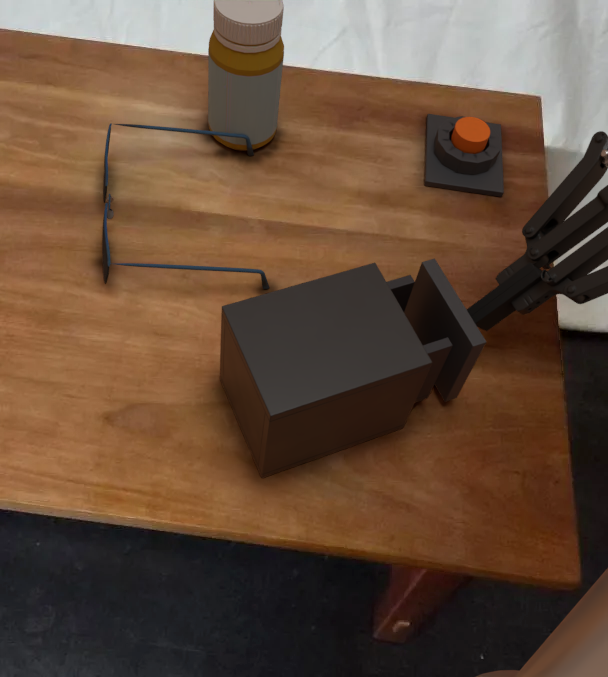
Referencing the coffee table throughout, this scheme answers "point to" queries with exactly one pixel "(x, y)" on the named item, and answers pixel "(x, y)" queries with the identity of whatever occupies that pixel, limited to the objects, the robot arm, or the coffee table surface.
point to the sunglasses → (110, 214)
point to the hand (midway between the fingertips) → (476, 321)
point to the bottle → (245, 70)
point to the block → (462, 160)
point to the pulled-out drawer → (439, 328)
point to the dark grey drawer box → (319, 367)
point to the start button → (470, 135)
